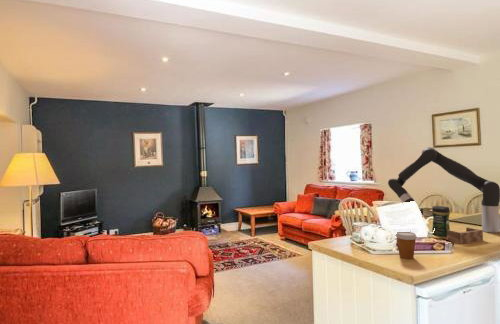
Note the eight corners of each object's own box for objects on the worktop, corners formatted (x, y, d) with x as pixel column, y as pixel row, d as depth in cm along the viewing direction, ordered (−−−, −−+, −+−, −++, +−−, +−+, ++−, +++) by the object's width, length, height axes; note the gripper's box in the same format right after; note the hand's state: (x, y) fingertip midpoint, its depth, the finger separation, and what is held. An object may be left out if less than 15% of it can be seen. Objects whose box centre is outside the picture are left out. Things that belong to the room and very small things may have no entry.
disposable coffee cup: (416, 261, 155) (415, 236, 155) (394, 258, 160) (394, 234, 160) (417, 256, 164) (417, 232, 163) (397, 253, 169) (397, 230, 168)
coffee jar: (430, 234, 208) (429, 205, 208) (436, 232, 212) (435, 204, 212) (446, 237, 200) (445, 207, 200) (452, 235, 204) (451, 206, 204)
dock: (468, 237, 199) (467, 227, 199) (482, 240, 191) (482, 230, 191) (447, 240, 193) (446, 230, 193) (461, 243, 184) (461, 233, 184)
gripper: (403, 198, 225) (419, 218, 214) (417, 197, 230) (433, 216, 218) (398, 204, 230) (412, 225, 219) (411, 203, 235) (426, 223, 223)
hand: (423, 220), depth 218 cm, fingers closed
